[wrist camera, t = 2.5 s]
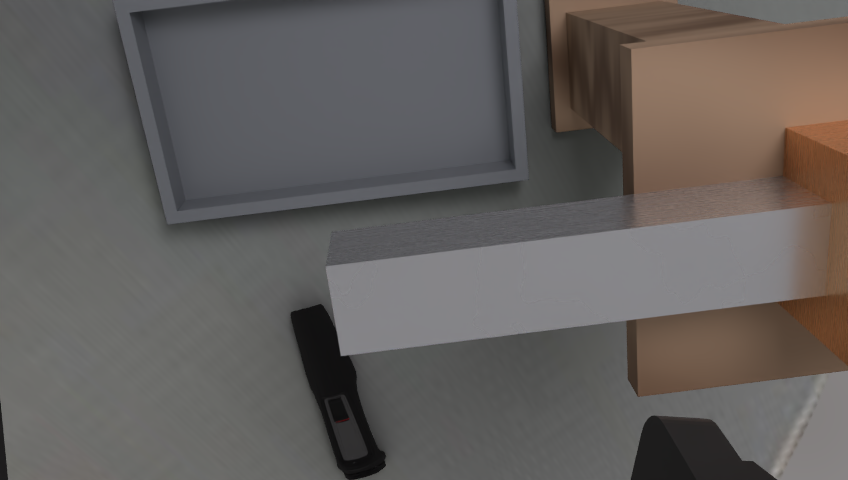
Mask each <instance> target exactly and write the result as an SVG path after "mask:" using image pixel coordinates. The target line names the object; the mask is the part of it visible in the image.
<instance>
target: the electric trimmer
mask: <svg viewBox="0 0 848 480" xmlns="http://www.w3.org/2000/svg"><path fill="white" fill-rule="evenodd" d="M291 319H292V324H293V327H294V331H295V335H296V339H297V342H298V346H299V350H300V353H301V357H302V361H303V364H304V368H305V372H306V375H307V378H308V381H309V384H310V387H311V389H312V391H313V393H314V395H315V398H316V400H317V403H318V405H319V408H320V410H321V413H322V416H323V419H324V422H325V425H326V429H327V432H328V435H329V438H330V441H331V444H332V448H333V451H334V454H335V457H336V460H337V466H338V468H339V469H340V470H342V471H343V472H344V474H345V477H346V478H347V479H348V480H354V479H359V478H363V477H367V476H370V475H372V474H375V473H377V472H379V471H380V470H382V469H383V468H384V467H385V466H386V464H385V461H384V459H385V457H386V455H385V453H384V452H383V451H380V450H379V449H378V447H377V445H376V443H375V440H374V438H373V435H372V433H371V431H370V428H369V425H368V423H367V420H366V418H365V415H364V412H363V409H362V406H361V402H360V399H359V395H358V392H357V384H356V378H357V376H356V371H355V368H354V366H353V364H352V361H351V359H350V357H349V355H346V356H341V353H340V347H339V342H338V336H337V331H336V329H335V327H334V325H333V323H332V321H331V319H330V317H329V315H328V313H327V311H326V310H325V308H324V306H323V305H321V304H319V305H316V306H313V307H309V308H305V309H301V310H298V311H293V312H291Z"/></svg>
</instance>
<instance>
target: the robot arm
mask: <svg viewBox="0 0 848 480" xmlns="http://www.w3.org/2000/svg"><path fill="white" fill-rule="evenodd" d="M0 480H8V475H7V465H6V454H5V444H4V434H3V423H2V413H1V403H0ZM631 480H777V479H775V478H774V477H773V476H772V475H770V474H769V473H768V472H766V471H765V470H764V469H762V468H761V467H760V466H759V465H757V464H756V463H755V462H753V461H742V460H741V458H740V457H739V456H738V454H737V453H736V451H735V450H734V448H733V447H732V446H731V444H730V443H729V441H728V440H727V439H726V437H725V436H724V434H723V433H722V431H721V430H720V429H719V427H718V426H717V425H716V423H715V422H713V421H712V420H710V419H700V418H684V417H668V416H651V417H649V418H648V419H647V421H646V423H645V424H644V427H643V430H642V433H641V438H640V442H639V446H638V451H637V455H636V459H635V463H634V468H633V472H632V476H631Z"/></svg>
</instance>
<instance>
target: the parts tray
mask: <svg viewBox="0 0 848 480" xmlns="http://www.w3.org/2000/svg"><path fill="white" fill-rule="evenodd" d="M112 1H113V5H114V9H115V13H116V17H117V21H118V25H119V29H120V33H121V38H122V42H123V46H124V50H125V54H126V58H127V62H128V66H129V70H130V74H131V78H132V82H133V86H134V91H135V95H136V99H137V103H138V107H139V111H140V115H141V119H142V123H143V127H144V131H145V135H146V139H147V144H148V148H149V152H150V156H151V160H152V164H153V168H154V172H155V176H156V180H157V184H158V188H159V193H160V197H161V201H162V205H163V209H164V213H165V217H166V221H167V225H168V224H176V223H184V222H192V221H200V220H208V219H216V218H224V217H232V216H240V215H248V214H256V213H265V212H273V211H281V210H289V209H297V208H305V207H313V206H321V205H329V204H337V203H345V202H353V201H361V200H370V199H378V198H386V197H394V196H402V195H410V194H418V193H426V192H434V191H442V190H450V189H458V188H466V187H475V186H483V185H491V184H499V183H507V182H515V181H523V180H529V172H528V158H527V143H526V129H525V114H524V100H523V85H522V71H521V56H520V42H519V27H518V13H517V0H112Z"/></svg>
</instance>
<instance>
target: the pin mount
mask: <svg viewBox="0 0 848 480" xmlns="http://www.w3.org/2000/svg"><path fill="white" fill-rule="evenodd" d="M545 16H546V34H547V52H548V69H549V87H550V105H551V122H552V128H553V129H554V130H555V132H556V133H557V132H565V131H573V130H581V129H589V128H594V129H596V130H597V131H598V132H599V133H600V134H601V135H603V136H604V137H605V138H606V139H607V140H608V141H610V142H611V143H612V144H613V145H614V146H615V147H617V148H618V149H619V150H620V151H621V152H622V156H623V196H624V195H632V194H640V193H648V192H656V191H664V190H672V189H681V188H689V187H697V186H705V185H713V184H721V183H729V182H737V181H745V180H753V179H761V178H769V177H777V176H783V165H784V145H785V128H786V127H794V126H802V125H810V124H819V123H827V122H835V121H843V120H848V17H840V18H832V19H824V20H816V21H808V22H800V23H792V24H780V23H775V22H770V21H765V20H759V19H754V18H749V17H744V16H738V15H733V14H728V13H723V12H717V11H712V10H707V9H701V8H696V7H691V6H686V5H680V4H677V0H545ZM627 361H628V380H629V382H630V384H631V385H632V387H633V389H634V391H635V392H636V394H637V396H638V397H640V396H648V395H656V394H664V393H672V392H680V391H688V390H696V389H704V388H712V387H720V386H728V385H736V384H744V383H752V382H760V381H768V380H776V379H784V378H792V377H800V376H808V375H816V374H824V373H832V372H839V371H847V370H848V366H847V365H846V364H845V363H844V362H843V361H842V360H840V359H839V358H838V357H837V356H836V355H835V354H834V353H833V352H832V351H830V350H829V349H828V348H827V347H826V346H825V345H824V344H823V343H822V342H820V341H819V340H818V339H817V338H816V337H815V336H814V335H813V334H812V333H810V332H809V331H808V330H807V329H806V328H805V327H804V326H803V325H802V324H800V323H799V322H798V321H797V320H796V319H795V318H794V317H793V316H792V315H790V314H789V313H788V312H787V311H786V310H785V309H784V308H783V307H782V306H780V305H779V304H778V303H777V302H770V303H762V304H754V305H746V306H738V307H730V308H722V309H714V310H706V311H698V312H690V313H682V314H674V315H666V316H658V317H650V318H642V319H634V320H627Z"/></svg>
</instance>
